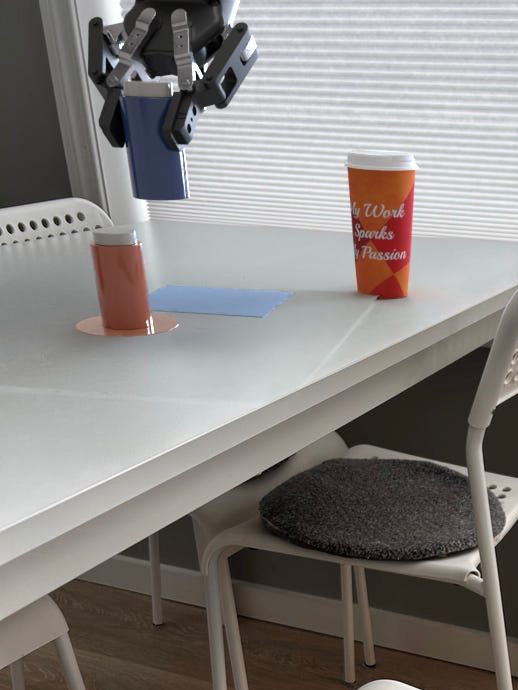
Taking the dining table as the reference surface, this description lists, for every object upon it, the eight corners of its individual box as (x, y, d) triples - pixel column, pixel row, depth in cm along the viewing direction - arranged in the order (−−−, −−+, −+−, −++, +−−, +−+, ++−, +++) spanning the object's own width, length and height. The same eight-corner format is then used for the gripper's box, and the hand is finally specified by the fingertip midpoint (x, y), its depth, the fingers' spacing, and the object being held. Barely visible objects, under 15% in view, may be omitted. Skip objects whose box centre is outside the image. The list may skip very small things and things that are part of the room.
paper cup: (336, 296, 103) (331, 152, 96) (364, 284, 109) (361, 147, 102) (403, 303, 101) (403, 157, 94) (428, 290, 107) (430, 152, 100)
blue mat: (123, 312, 93) (122, 308, 92) (167, 288, 103) (167, 284, 103) (263, 321, 92) (263, 316, 92) (294, 296, 102) (294, 292, 102)
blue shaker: (123, 199, 74) (106, 80, 70) (146, 192, 78) (130, 79, 74) (178, 201, 74) (164, 82, 70) (198, 195, 78) (185, 82, 73)
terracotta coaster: (58, 337, 84) (57, 332, 84) (101, 315, 91) (100, 310, 91) (157, 343, 83) (157, 338, 83) (192, 320, 91) (192, 316, 91)
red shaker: (94, 328, 85) (78, 232, 81) (114, 317, 89) (100, 225, 85) (141, 331, 85) (128, 235, 81) (159, 320, 89) (147, 228, 85)
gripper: (92, -85, 74) (29, 98, 70) (264, -82, 71) (208, 107, 67) (138, 2, 81) (83, 172, 77) (296, 7, 78) (247, 182, 74)
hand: (142, 140), depth 72 cm, fingers closed on blue shaker, 4 cm apart
